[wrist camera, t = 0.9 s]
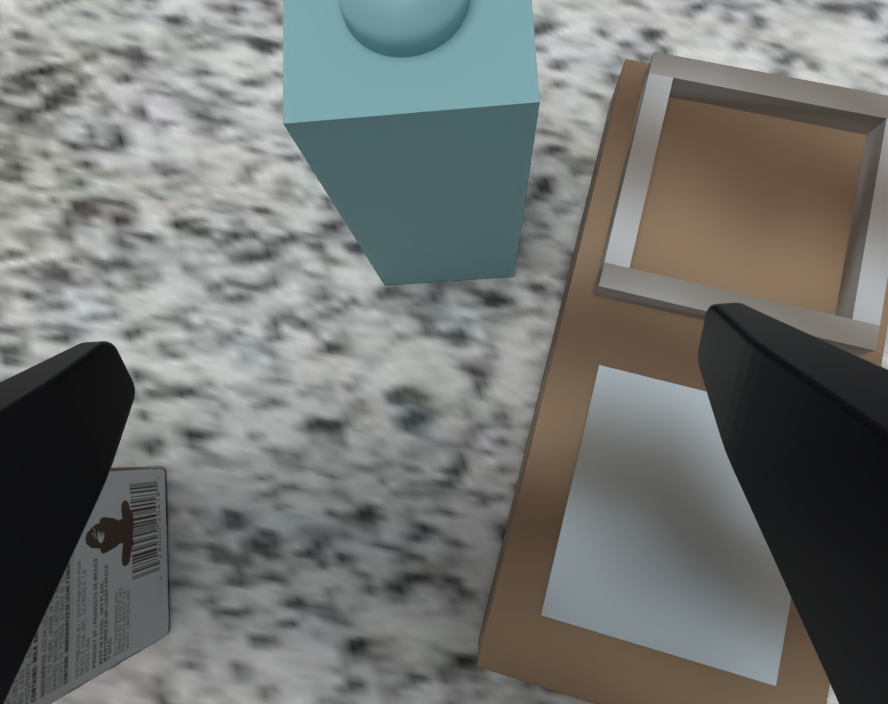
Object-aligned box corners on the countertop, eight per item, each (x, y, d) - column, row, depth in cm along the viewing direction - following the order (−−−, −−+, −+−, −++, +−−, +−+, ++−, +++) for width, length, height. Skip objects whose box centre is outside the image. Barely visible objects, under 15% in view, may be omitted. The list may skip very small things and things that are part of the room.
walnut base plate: (773, 732, 19) (835, 793, 16) (478, 640, 20) (476, 678, 17) (873, 152, 22) (944, 97, 19) (611, 100, 23) (632, 39, 20)
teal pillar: (513, 276, 23) (542, 78, 11) (384, 285, 23) (270, 102, 11) (505, 155, 23) (524, -155, 11) (381, 165, 24) (271, -127, 12)
